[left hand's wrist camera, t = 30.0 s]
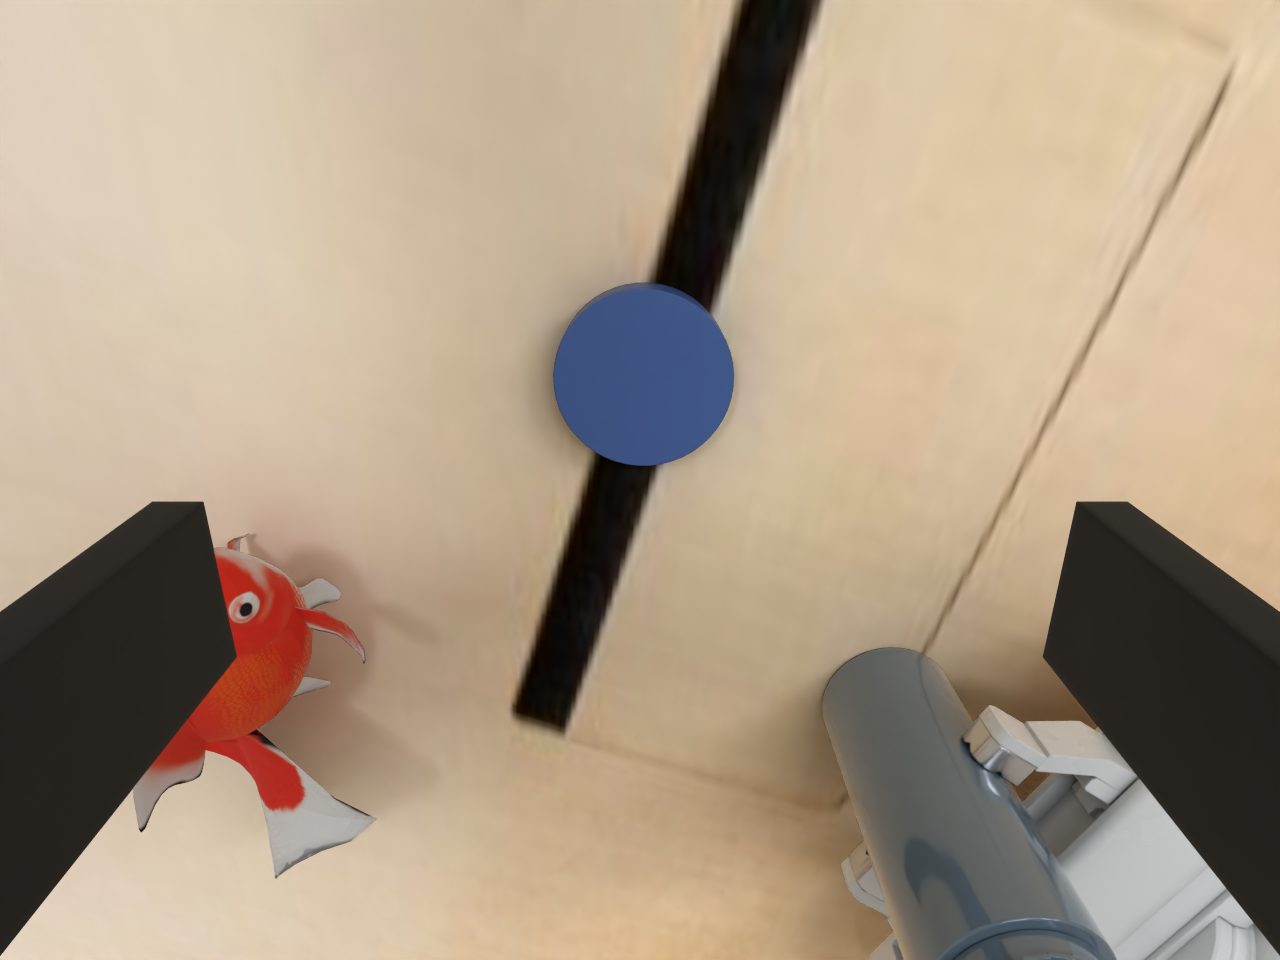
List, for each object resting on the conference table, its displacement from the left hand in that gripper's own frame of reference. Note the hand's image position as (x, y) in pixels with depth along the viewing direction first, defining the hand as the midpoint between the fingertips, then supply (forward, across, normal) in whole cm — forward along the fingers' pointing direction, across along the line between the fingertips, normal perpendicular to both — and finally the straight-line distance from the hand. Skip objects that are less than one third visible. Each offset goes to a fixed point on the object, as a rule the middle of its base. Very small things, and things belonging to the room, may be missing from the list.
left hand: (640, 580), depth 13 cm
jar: (+18, +10, -16) cm, 26 cm away
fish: (+18, -14, -14) cm, 27 cm away
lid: (+17, 0, -1) cm, 17 cm away
